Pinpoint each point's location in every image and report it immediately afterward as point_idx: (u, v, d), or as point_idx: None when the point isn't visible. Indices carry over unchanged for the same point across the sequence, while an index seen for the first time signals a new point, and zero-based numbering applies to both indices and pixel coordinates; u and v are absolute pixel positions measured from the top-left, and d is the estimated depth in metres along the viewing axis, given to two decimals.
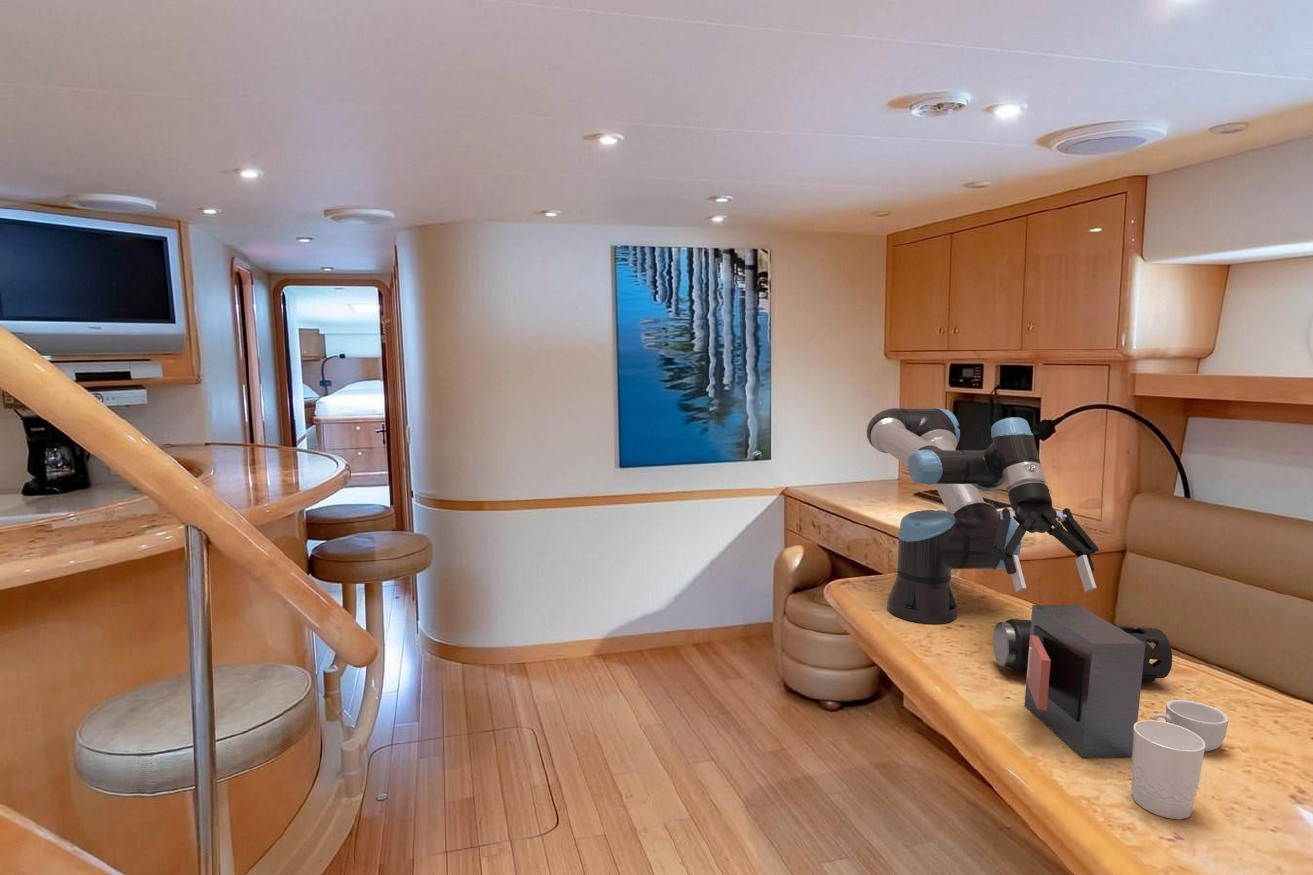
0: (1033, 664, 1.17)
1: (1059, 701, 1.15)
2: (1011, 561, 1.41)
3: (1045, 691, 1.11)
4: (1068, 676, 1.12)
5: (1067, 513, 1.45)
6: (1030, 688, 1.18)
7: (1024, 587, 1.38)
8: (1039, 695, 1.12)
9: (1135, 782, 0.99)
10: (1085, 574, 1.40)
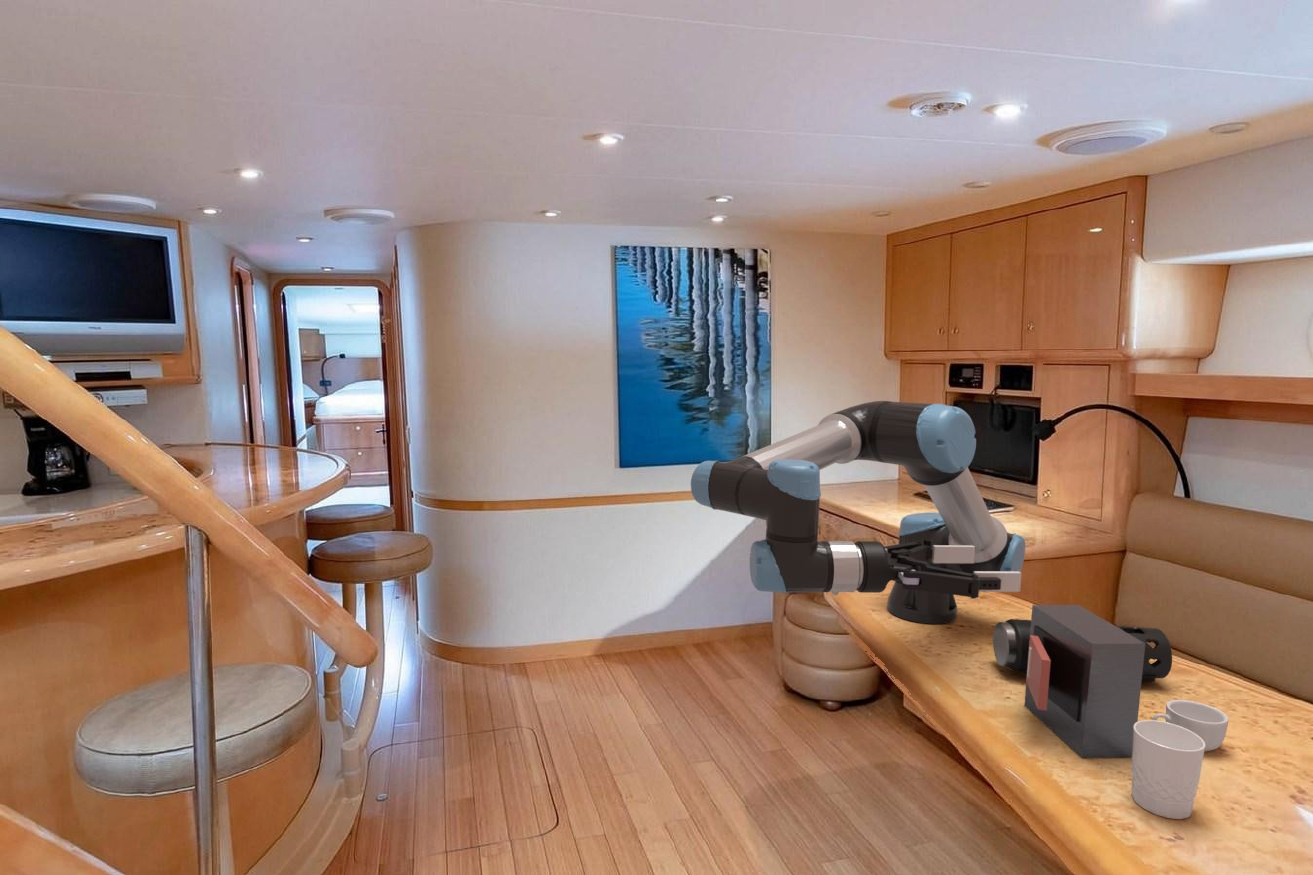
0: (1033, 664, 1.17)
1: (1059, 701, 1.15)
2: None
3: (1045, 691, 1.11)
4: (1068, 676, 1.12)
5: None
6: (1030, 688, 1.18)
7: None
8: (1039, 695, 1.12)
9: (1135, 782, 0.99)
10: None
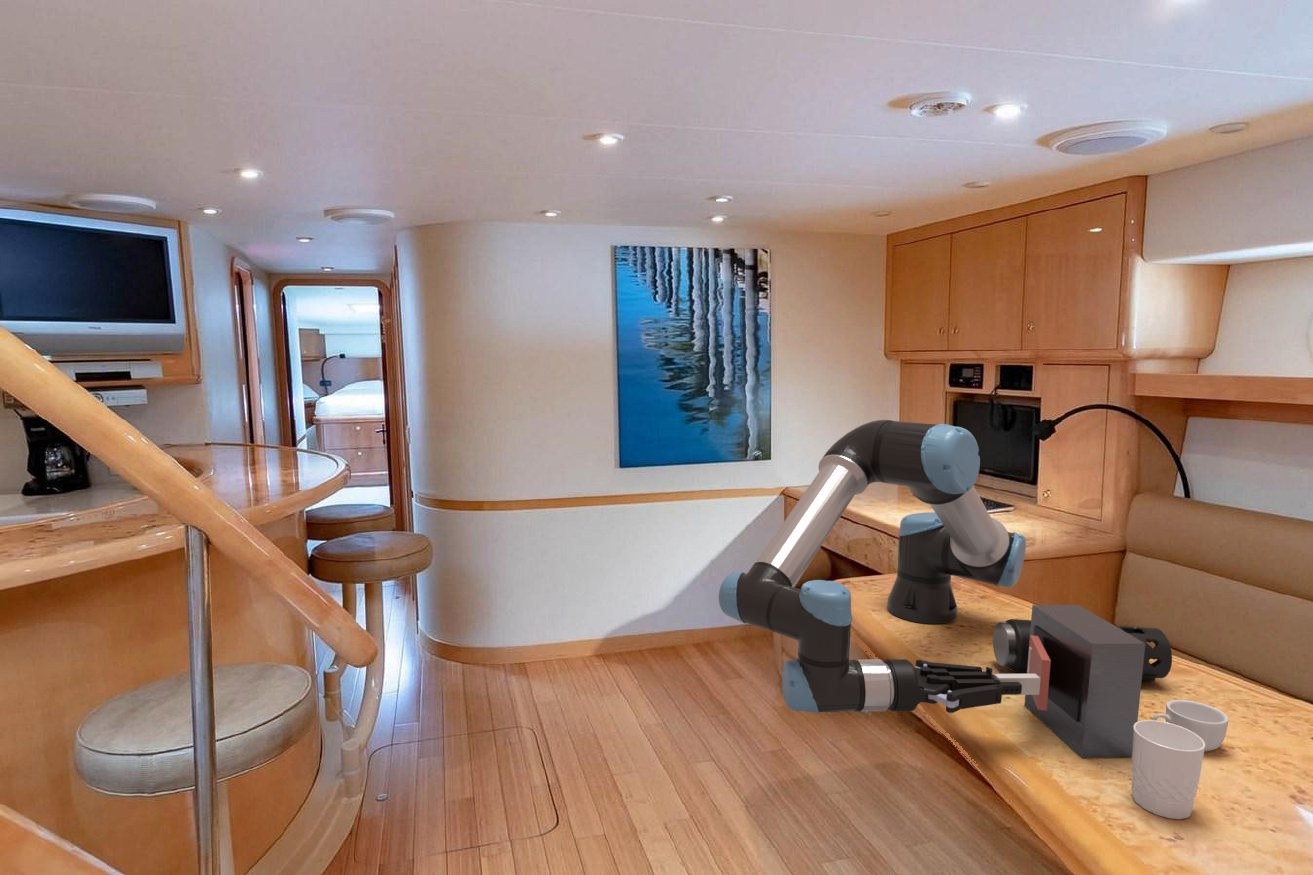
0: (1033, 664, 1.17)
1: (1059, 701, 1.15)
2: None
3: (1045, 691, 1.11)
4: (1068, 676, 1.12)
5: None
6: None
7: None
8: (1039, 695, 1.12)
9: (1135, 782, 0.99)
10: None
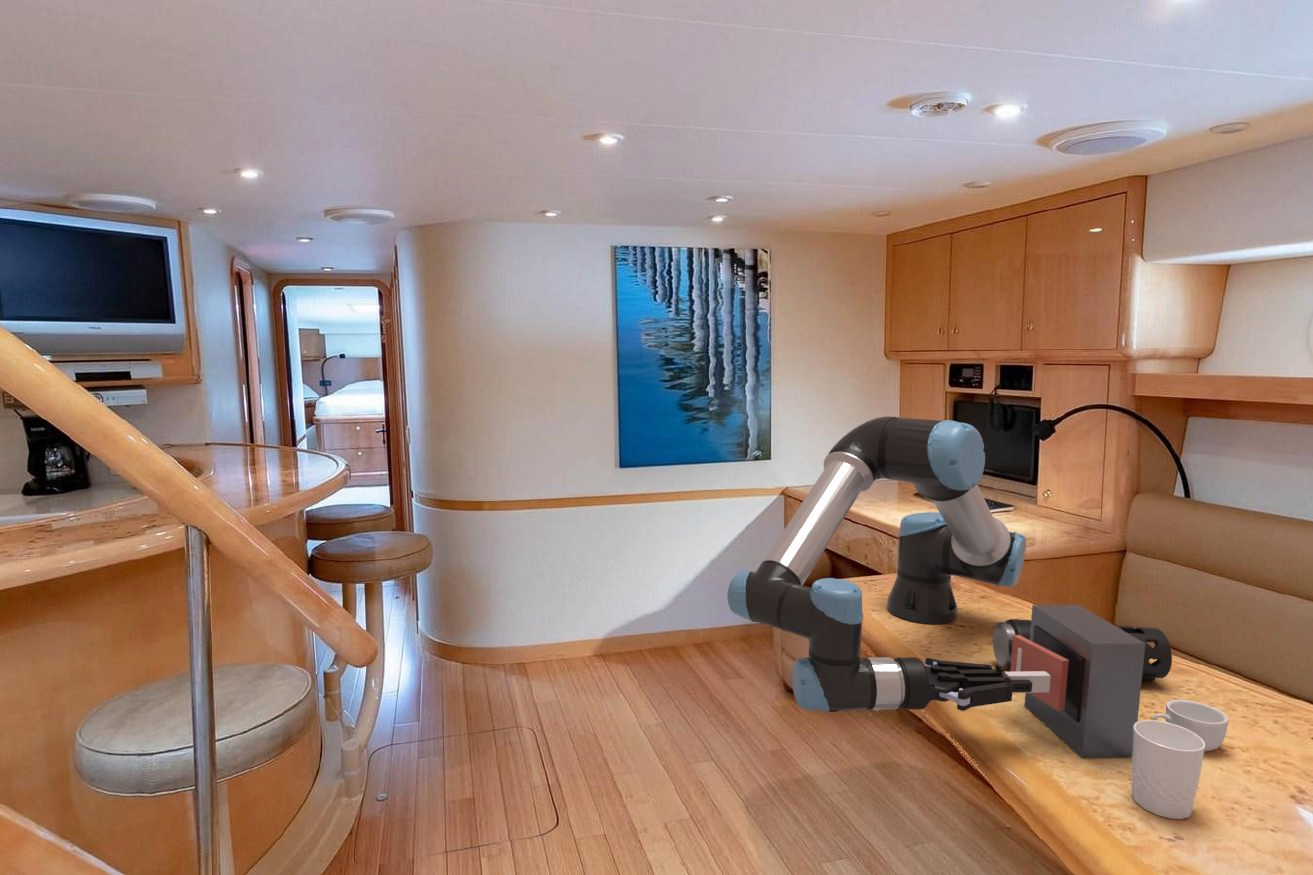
0: (1032, 665, 1.16)
1: None
2: None
3: (1064, 691, 1.11)
4: (1068, 676, 1.12)
5: None
6: None
7: None
8: (1059, 696, 1.11)
9: (1135, 782, 0.99)
10: None
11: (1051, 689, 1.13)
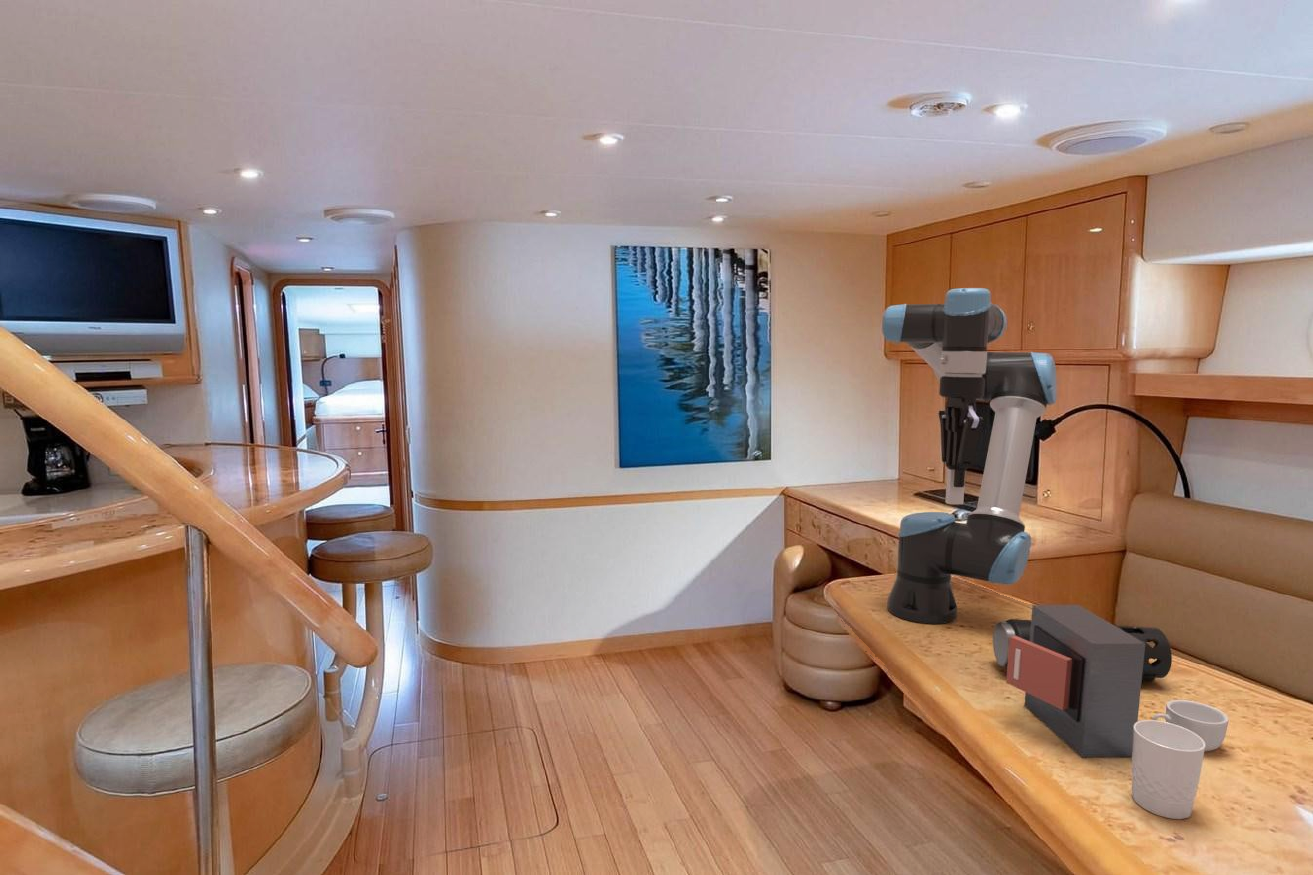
0: (1032, 665, 1.16)
1: None
2: None
3: (1068, 690, 1.12)
4: None
5: (966, 422, 1.27)
6: (1026, 689, 1.17)
7: (947, 502, 1.35)
8: (1063, 696, 1.12)
9: (1135, 782, 0.99)
10: None
11: (1054, 689, 1.13)
